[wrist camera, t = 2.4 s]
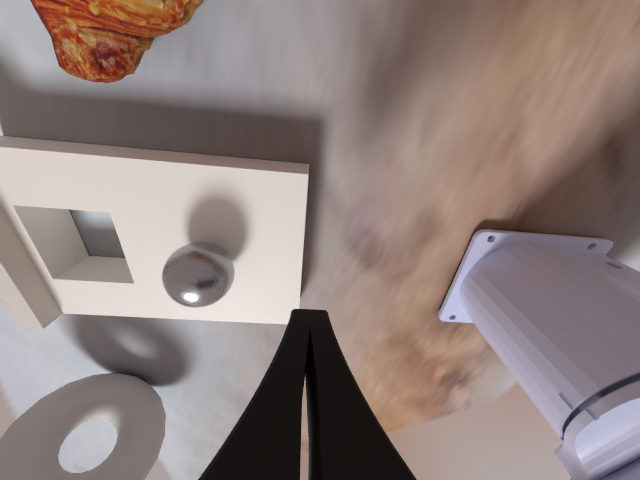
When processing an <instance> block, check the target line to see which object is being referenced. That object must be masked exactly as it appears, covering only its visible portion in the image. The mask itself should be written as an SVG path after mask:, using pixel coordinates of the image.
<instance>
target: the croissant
mask: <svg viewBox="0 0 640 480" xmlns="http://www.w3.org/2000/svg"><path fill="white" fill-rule="evenodd" d="M30 1H31V3H32V4H33V6H34V8H35V10H36V12H37V14H38V15H39V17H40V19H41V20H42V22H43V24H44V25H45V27H46V29H47V31H48V32H49V34H50V36H51V38H52V42H53V46H54V51H55V54H56V57H57V60H58V63H59V66H60V67H61V68H62V69H63V70H64V71H66V72H67V73H69V74H71V75H73V76H76V77H79V78H82V79H85V80H89V81H94V82H105V83H110V82H115V81H119V80H121V79H123V78H124V77H125V76H126V75H129V74H134V72H135V70H136V68H137V67H138V65H139V63H140V61H141V58H142V56H143V54H144V52H145V50H149V49H150V46H151V44H152V42H153V40H154V37H155V36H159V35H164V34H168V33H170V32H171V31H173V30H175V29H177V28H179V27H181V26H183V25H184V24H186V23H188V22H189V21H190V19H191V18H192V16H193V14H194V12H195V10H196V9H197V8H198V7H199V6H200V5H201V4H202V3H203V0H30Z"/></svg>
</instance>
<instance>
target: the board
mask: <svg viewBox="0 0 640 480" xmlns="http://www.w3.org/2000/svg"><path fill="white" fill-rule="evenodd" d="M308 177H309V164H303V163H292V162H281V161H270V160H260V159H249V158H238V157H227V156H216V155H205V154H194V153H184V152H173V151H162V150H151V149H140V148H129V147H118V146H108V145H97V144H86V143H75V142H64V141H53V140H42V139H31V138H21V137H10V136H0V298H1V300H2V301H3V302H4V304H5V305H6V307H7V308H8V310H9V311H10V312H11V314H12V315H13V317H14V318H15V319H16V321H17V322H18V324H19V325H20V326H21V328H38V329H44V328H45V327H46V326H48V325H49V324H50V323H51V322H53V321H54V320H55V319H56V318H58V317H59V316H60V315H61V314H62V313H64V314H85V315H106V316H126V317H147V318H168V319H188V320H209V321H230V322H250V323H271V324H288V322H289V319H290V315H291V311H292V310H293V309H299V305H300V291H301V277H302V262H303V248H304V234H305V220H306V205H307V191H308ZM69 209H70V210H83V211H97V212H110V215H111V218H112V221H113V223H114V226H115V229H116V232H117V235H118V238H119V241H120V244H121V246H122V249H123V252H124V255H125V258H115V257H99V256H89V255H88V253H87V250H86V248H85V246H84V243H83V241H82V239H81V236H80V234H79V232H78V229H77V227H76V225H75V222H74V220H73V218H72V216H71V213H70V211H69ZM195 242H207V243H211V244H214V245H217V246H219V247H220V248H222V249H223V250H224V251H225V252H226V253H227V254H228V255H229V256H230V258H231V260H232V262H233V265H234V270H235V275H234V281H233V284H232V286H231V288H230V290H229V291H228V292H227V294H226V295H225V296H224V297H223V298H221V299H220V300H219V301H217V302H215V303H214V304H211V305H208V306H205V307H197V308H194V307H187V306H184V305H181V304H179V303H177V302H175V301H174V300H173V299H172V298H171V297H170V296H169V295H168V294H167V293H166V291H165V289H164V286H163V282H162V271H163V267H164V265H165V263H166V261H167V259H168V258H169V257H170V255H171V254H172V253H173V252H175V251H176V250H177V249H179V248H180V247H182V246H184V245H187V244H190V243H195Z"/></svg>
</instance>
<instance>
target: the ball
mask: <svg viewBox="0 0 640 480" xmlns="http://www.w3.org/2000/svg"><path fill="white" fill-rule="evenodd" d="M234 275H235V270H234V265H233V262H232V260H231V258H230V256H229V255H228V254H227V253H226V252H225V251H224V250H223V249H222V248H220V247H219V246H217V245H214V244H211V243H207V242H195V243H190V244H187V245H184V246H182V247H180V248H179V249H177V250H176V251H175V252H173V253H172V254H171V255H170V257H169V258H168V259H167V261H166V263H165V265H164V267H163V271H162V282H163V286H164V289H165V291H166V293H167V294H168V295H169V296H170V297H171V298H172V299H173V300H174V301H175V302H177V303H179V304H181V305H184V306H187V307H194V308H197V307H205V306H208V305H211V304H214V303H215V302H217V301H219V300H220V299H221V298H223V297H224V296H225V295H226V294H227V292H228V291H229V290H230V288H231V286H232V284H233V281H234Z"/></svg>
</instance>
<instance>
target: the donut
mask: <svg viewBox="0 0 640 480" xmlns="http://www.w3.org/2000/svg"><path fill="white" fill-rule="evenodd" d="M97 419H100V420H107V421H109V422H111V423H112V424H113V425H114V426H115V428H116V431H117V435H118V436H117V443H116V445H115V447H114V450H113V451H112V452H111V454H110V455H109V456H108V458H107V459H106V460H105V461H103V462H102V463H101V464H100V465H99V466H97V467H95V468H94V469H92V470H90V471H86V472H83V473H70V472H68V471H66V470H64V469H63V468H62V467H61V465H60V464H59V459H58V454H59V450H60V447H61V445H62V443H63V441H64V440H65V438H66V437H67V436H68V435H69V434H70V433H71V432H72V431H73V430H74V429H75V428H76V427H78V426H79V425H81V424H84V423H86V422H88V421H92V420H97ZM165 419H166V414H165V411H164V407H163V404H162V400H161V398H160V396H159V395H158V394H157V392H156V391H155V390H154V389H153V387H152V386H151V385H150V384H148V383H146V382H145V381H143V380H141V379H139V378H138V377H136V376H131V375H125V374H120V373H110V374H99V375H92V376H89V377H86V378H83V379H80V380H77V381H74V382H71V383H68V384H66V385H64V386H63V387H61V388H59V389H57V390H56V391H54V392H52V393H50V394H48V395H47V396H45V397H43V398H41V399H40V400H39V401H38V402H37V403H35V404H34V405H33V406H32V407H31V408H30V409H28V410H27V411H26V412H25V413H24V414H23V415H21V416H20V417H19V418H18V419H17V420H15V421H14V422H13V423H12V424H11V426H10V427H9V428H8V430H7V431H6V432H5V434H4V435H3V436H2V437H1V439H0V480H145V478H146V477H147V475H148V473H149V471H150V470H151V468H152V466H153V465H154V463H155V461H156V460H157V458H158V455H159V452H160V448H161V445H162V442H163V439H164V436H165Z"/></svg>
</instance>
